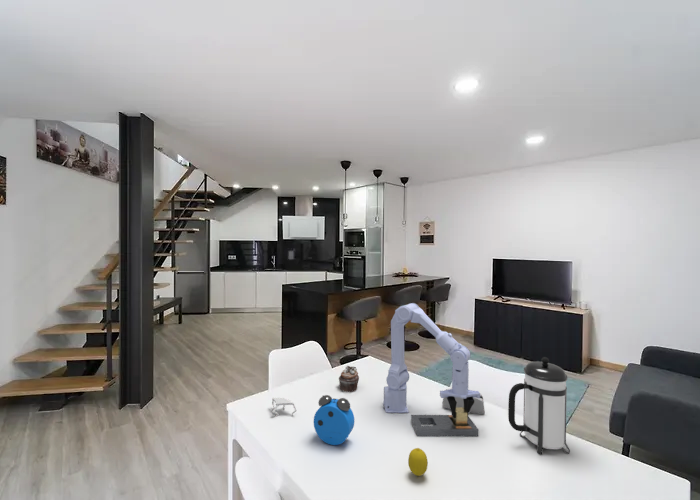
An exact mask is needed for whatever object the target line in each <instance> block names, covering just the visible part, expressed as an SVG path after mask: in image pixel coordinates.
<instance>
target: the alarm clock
mask: <svg viewBox="0 0 700 500" xmlns="http://www.w3.org/2000/svg"><path fill="white" fill-rule="evenodd" d="M318 406H319V407H318V409H317V410H316V411H315V413H314V417H313V427H314V431H315V432H316V435H317V436H318V437H319V439H320V440H321V441H323V442H324V443H326V444H328V445H331V446H338V445H341V444H343V443H344V442H345V441H346V440H347V438H348V437H349V435H350V434H351V432H352V431H353V428H354V427H355V415H354V412H353V410H352V408H351V402H350V401H349V400H348V399H346V398H345V397H339V398H333V397H332V396H330V395H328V394H324V395H322V396H320V398H319V400H318Z"/></svg>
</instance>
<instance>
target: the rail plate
mask: <svg viewBox="0 0 700 500" xmlns="http://www.w3.org/2000/svg"><path fill="white" fill-rule="evenodd" d="M410 421H411V425H412V427H413V429H414V431H415V434H416V437H479V428H478V427H477V425H476V424H475V423H474V421H473V420H472V419H471V417H470V416H469V415H468V418H467V426H455V425H454V424H453V416H452V414H411V415H410Z"/></svg>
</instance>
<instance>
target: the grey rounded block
mask: <svg viewBox="0 0 700 500" xmlns="http://www.w3.org/2000/svg"><path fill="white" fill-rule="evenodd" d="M450 389H451V388H447V389H445V390H450ZM473 399H474V404H473V405H472V407H471V409H470V411H469V413H472V414H478V413H479V414H480V415H485V401H484V396H483V394H482V393H480V398H473ZM455 400H456V402H457V404H456V407H463V408H464V401H463V399H462V398H460V397H455ZM441 406H442V409H447V410H448V409H449V410H451V408H450V405H449V402H448V400H447V397H444V398H442V405H441Z"/></svg>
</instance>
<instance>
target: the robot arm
mask: <svg viewBox="0 0 700 500" xmlns="http://www.w3.org/2000/svg"><path fill="white" fill-rule="evenodd" d="M409 322H410V323H415V324H420V325H421V326H423V328H424V329H426V331H428V332H429V333H430V334H431V335H432V336H434V338H435V343H437V345H439V347H440V348H441V349H442V350H444V352H445V353H447V354H448V356H449V358H450V360H451V362H452V368H451V369H452V372H451V373H452V377H451V378H452V379H451V388H449V389H450V390H446V389H444V390H439V396H440V398H441V399H443V398H444V397H447V400H448V402H449V405H450V408H451V409H450V412H451V415H452V416H453V418H455V416H456V404H457V402H456V400H455V397H460V398H462V399H463V401H464V409H465V410H466V412H467V418H468V416H469V414H470V412H469V411H470V409H471V407H472V405H473V404H474V399H473V398H480V394H481V392H480V391H479V390H471V389H469V371H470V370H469V360H470V358H471V352H470V350H469V349H468V347H467V346H465V345H463V344H462V343H460V342H458V341H457V340H456V339H455V338H454V337H453V334H452V333H451V332H449V333H448V332H447V331H443V330H441V329H440V328H439V327H438V325H436V323H435V322H434V321H433V320H432V319H431V318H430V317H429V316H428V315H427V314H426V313H425V311H424V310H423V309H422V308H421V307H419V304H417V303H415V302H412V303H411V302H410V303H408V304H405V305H400V306H399V307H398V308H396V309H395V310H394V314H393V316H392V319H391V320H390V341H391V344H390V345H391V348H390V349H391V351H390V353H391V365H390V366H389V368H388V370H387V371H388V374H387V377H386V381H385V382H386V384H387V385H386V386H384V387H383V403H382V404H383V407H384V408H383V409H384V412H385V413H391V414H393V413H394V414H396V413H397V414H398V413H399V414H401V413H402V414H406V413H407V414H408V413H410V411H409V408H408V406H407V393H408V392H407V389H408V388H407V385H408V384H407V383H408V382H409V380H410V373H409V371H408V365H407V364H406V363H405V325H407V324H408V323H409Z"/></svg>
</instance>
